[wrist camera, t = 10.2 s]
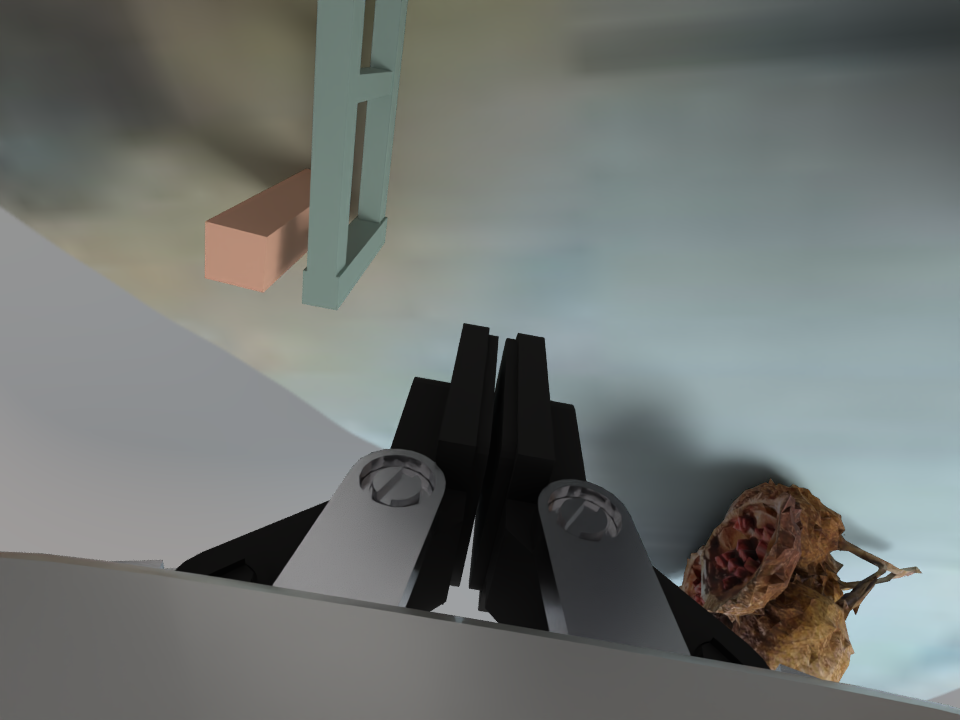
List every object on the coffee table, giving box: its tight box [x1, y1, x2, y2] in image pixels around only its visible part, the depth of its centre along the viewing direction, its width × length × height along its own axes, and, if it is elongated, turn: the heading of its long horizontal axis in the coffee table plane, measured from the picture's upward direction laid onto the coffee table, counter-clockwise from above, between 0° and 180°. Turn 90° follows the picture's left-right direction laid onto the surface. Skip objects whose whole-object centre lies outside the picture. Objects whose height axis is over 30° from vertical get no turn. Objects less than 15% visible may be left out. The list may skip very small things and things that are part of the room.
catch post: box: [205, 169, 311, 292], centre depth 27 cm, size 2×2×12 cm
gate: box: [302, 0, 408, 310], centre depth 24 cm, size 18×2×11 cm, turn 169°
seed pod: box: [679, 478, 922, 682], centre depth 39 cm, size 14×18×16 cm
